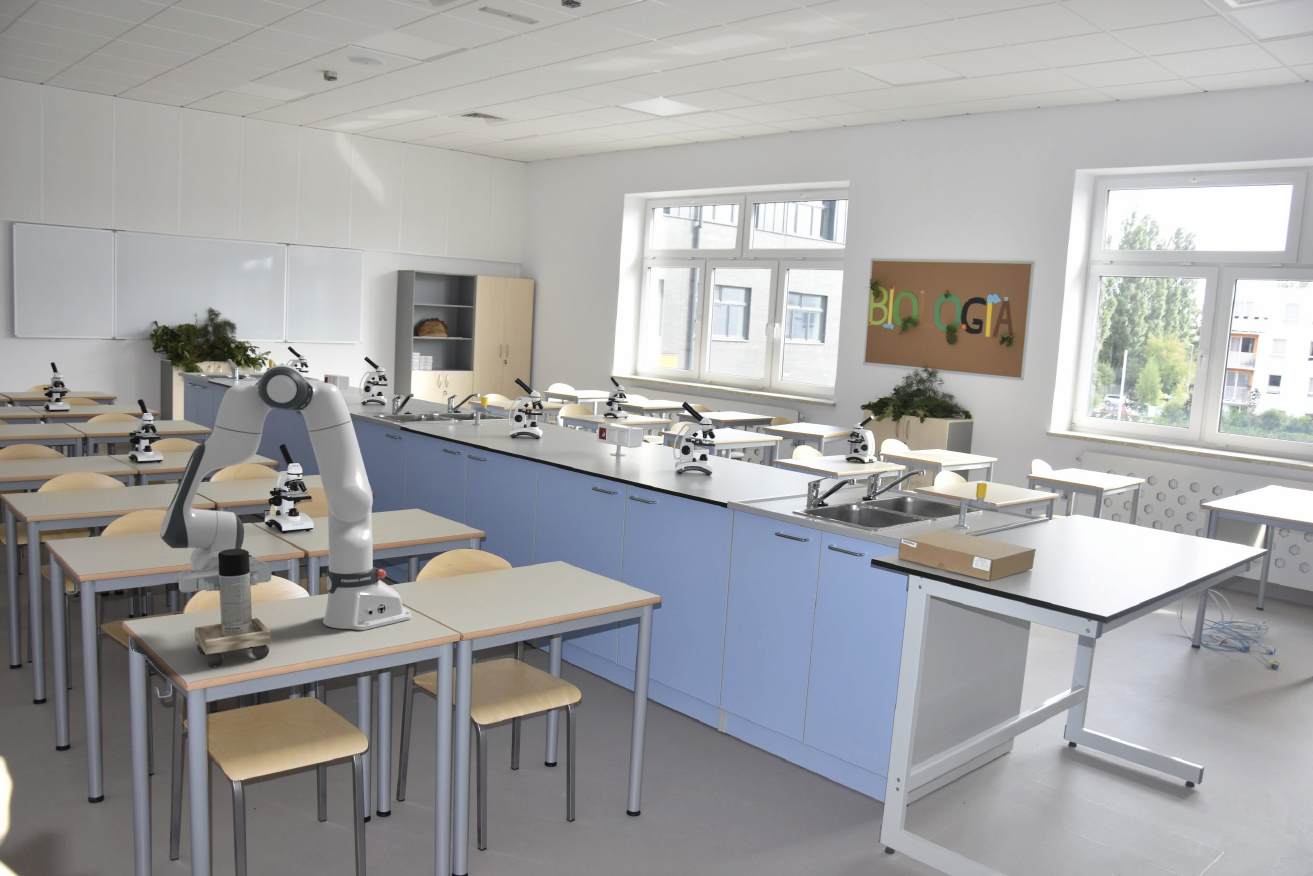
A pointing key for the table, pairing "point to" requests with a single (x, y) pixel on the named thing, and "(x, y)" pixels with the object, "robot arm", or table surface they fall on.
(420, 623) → the table surface
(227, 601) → the spray can
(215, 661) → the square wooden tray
